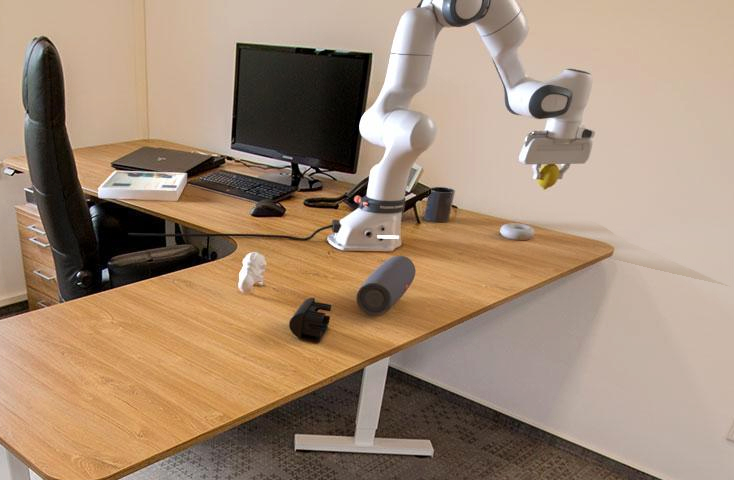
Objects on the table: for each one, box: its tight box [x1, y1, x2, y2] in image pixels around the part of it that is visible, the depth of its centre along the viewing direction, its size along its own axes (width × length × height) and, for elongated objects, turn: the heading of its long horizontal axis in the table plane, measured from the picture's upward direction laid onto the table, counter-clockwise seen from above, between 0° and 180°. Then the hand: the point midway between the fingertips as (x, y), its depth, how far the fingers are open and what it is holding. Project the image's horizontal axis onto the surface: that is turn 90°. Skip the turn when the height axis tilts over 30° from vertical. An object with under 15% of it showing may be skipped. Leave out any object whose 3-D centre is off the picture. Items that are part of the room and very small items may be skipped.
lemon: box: [536, 164, 560, 191], centre depth 207 cm, size 6×6×8 cm
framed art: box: [97, 170, 188, 202], centre depth 273 cm, size 30×4×30 cm
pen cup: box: [423, 186, 456, 224], centre depth 234 cm, size 8×8×10 cm
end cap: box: [288, 297, 332, 344], centre depth 156 cm, size 10×7×7 cm
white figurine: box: [237, 251, 268, 295], centre depth 180 cm, size 6×8×12 cm
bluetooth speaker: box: [355, 255, 416, 317], centre depth 169 cm, size 23×9×10 cm, turn 148°
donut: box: [499, 222, 536, 241], centre depth 218 cm, size 10×3×10 cm
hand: (547, 179), depth 207 cm, fingers closed on lemon, 5 cm apart
